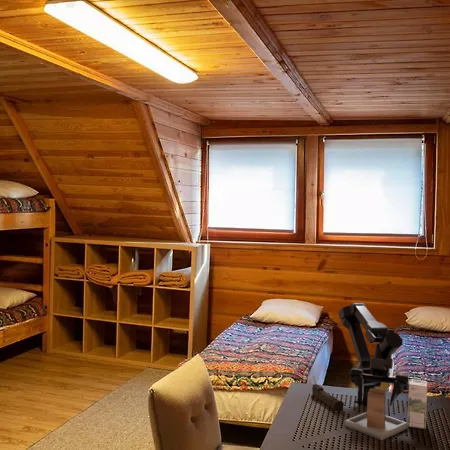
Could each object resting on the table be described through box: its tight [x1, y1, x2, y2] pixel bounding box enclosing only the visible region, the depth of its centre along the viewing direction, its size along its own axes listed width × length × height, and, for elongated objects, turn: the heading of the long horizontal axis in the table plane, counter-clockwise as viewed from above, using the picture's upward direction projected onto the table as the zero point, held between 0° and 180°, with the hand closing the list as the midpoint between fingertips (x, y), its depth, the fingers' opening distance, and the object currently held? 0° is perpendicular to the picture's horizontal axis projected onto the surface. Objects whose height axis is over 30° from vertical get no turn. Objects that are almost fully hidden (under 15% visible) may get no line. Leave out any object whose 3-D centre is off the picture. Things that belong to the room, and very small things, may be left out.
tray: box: [344, 411, 408, 441], centre depth 186 cm, size 14×14×2 cm
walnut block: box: [366, 388, 387, 429], centre depth 185 cm, size 5×5×11 cm
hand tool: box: [311, 383, 345, 412], centre depth 208 cm, size 19×4×5 cm, turn 18°
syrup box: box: [407, 378, 428, 430], centre depth 188 cm, size 6×6×14 cm
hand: (375, 402), depth 184 cm, fingers open, 9 cm apart
